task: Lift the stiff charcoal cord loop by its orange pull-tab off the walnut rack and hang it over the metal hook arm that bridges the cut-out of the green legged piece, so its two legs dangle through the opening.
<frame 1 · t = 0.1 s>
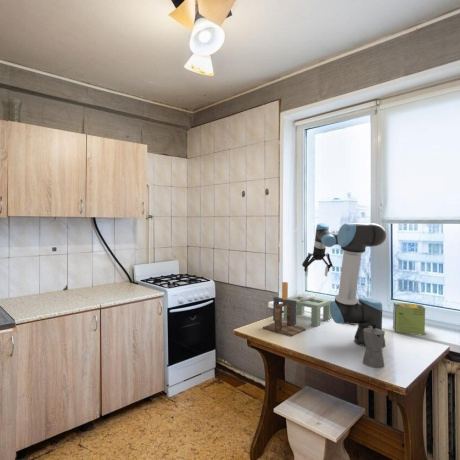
hand: (315, 275, 223), 28 cm above the table, tool tilted 20°, fingers open, 13 cm apart
walnut rack: (284, 329, 197), on the table
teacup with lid: (354, 322, 212), on the table
coffeepot: (372, 363, 151), on the table
green legged piece: (307, 319, 217), on the table
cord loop: (284, 302, 196), point 16 cm above the table, touching walnut rack
protein box: (408, 331, 196), on the table
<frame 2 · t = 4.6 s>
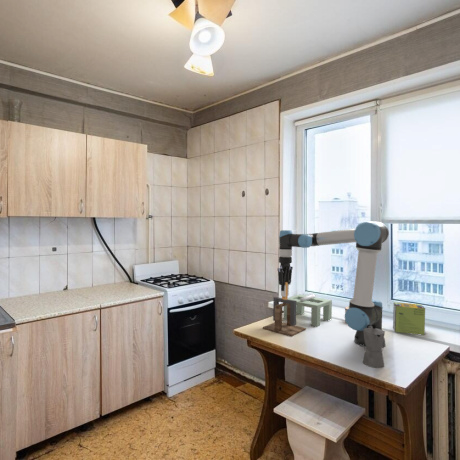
hand: (284, 295, 196), 20 cm above the table, tool pointing down, fingers closed on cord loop, 2 cm apart
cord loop: (284, 302, 196), point 16 cm above the table, touching gripper
everything else where it was.
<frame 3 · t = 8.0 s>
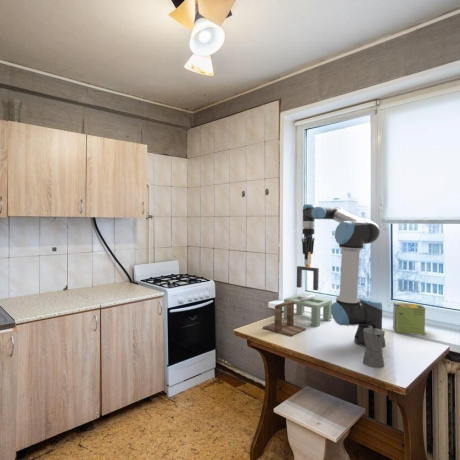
hand: (307, 264, 216), 37 cm above the table, tool pointing down, fingers closed on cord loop, 2 cm apart
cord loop: (307, 270, 216), point 32 cm above the table, touching gripper
everything else where it was.
when the fingers open (21 cm above the table, at t = 11.7 s): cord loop drops 1 cm, resting on green legged piece.
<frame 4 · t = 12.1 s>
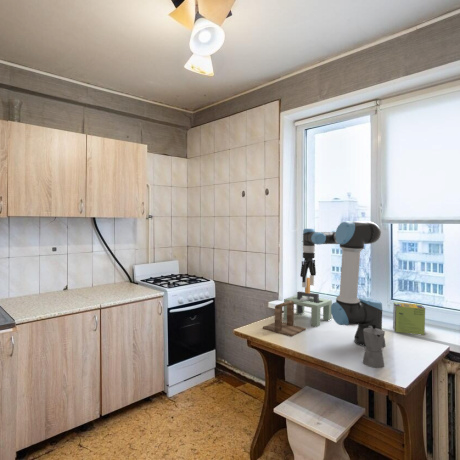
hand: (308, 286, 217), 22 cm above the table, tool pointing down, fingers open, 9 cm apart
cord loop: (307, 296, 217), point 15 cm above the table, touching green legged piece
everything else where it was.
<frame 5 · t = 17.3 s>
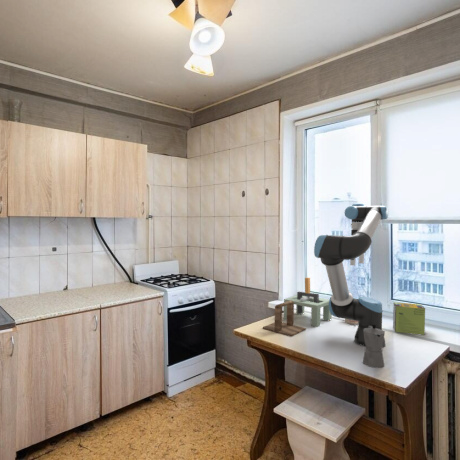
hand: (357, 264, 200), 39 cm above the table, tool pointing down, fingers open, 13 cm apart
nothing on the table moved.
at the end: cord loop 0.1 cm off-centre on the green legged piece, point 15.4 cm above the green legged piece's base; the gripper is holding nothing; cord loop touching green legged piece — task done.
